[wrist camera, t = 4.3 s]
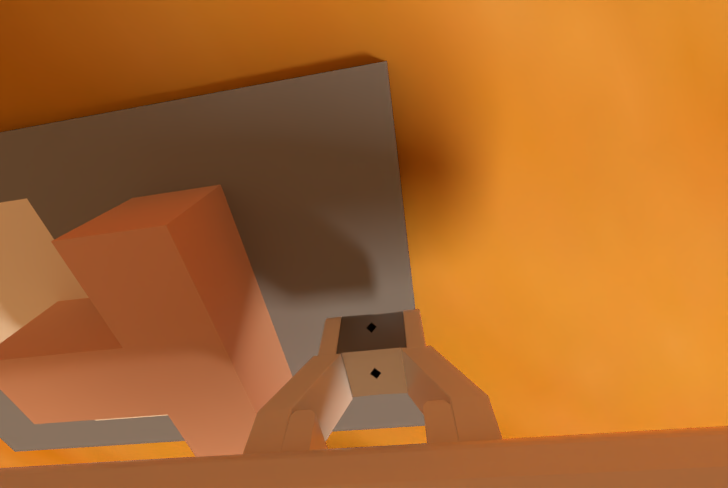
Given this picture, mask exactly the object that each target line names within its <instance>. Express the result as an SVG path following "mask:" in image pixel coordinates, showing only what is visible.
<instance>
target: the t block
mask: <svg viewBox="0 0 728 488" xmlns="http://www.w3.org/2000/svg"><path fill="white" fill-rule="evenodd" d="M51 242H52V244H53V245H54V247H55V248H56V250H57V251H58V253H59V254H60V256H61V257H62V259H63V260H64V262H65V263H66V264H67V266H68V267H69V269H70V270H71V272H72V273H73V275H74V276H75V278H76V279H77V281H78V282H79V284H80V285H81V287H82V288H83V290H84V291H85V293H86V294H87V296H88V297H89V298H82V299H74V300H65V301H57V302H56V303H55V304H53V305H52V306H51V307H49V308H48V309H47V310H45V311H44V312H42V313H41V314H40V315H38V316H37V317H36V318H34V319H33V320H31V321H30V322H29V323H27V324H26V325H25V326H23V327H22V328H21V329H19V330H18V331H16V332H15V333H14V334H12V335H11V336H10V337H8V338H7V339H5V340H4V341H3V342H1V343H0V390H1V391H2V392H3V393H4V394H5V395H6V396H7V397H8V398H9V399H10V400H11V401H12V402H13V403H14V404H15V405H16V406H17V407H18V408H19V409H20V410H21V411H22V412H23V413H24V414H25V415H26V416H27V417H28V418H29V419H30V420H31V421H32V422H33V423H34V424H45V423H58V422H72V421H86V420H99V419H113V418H127V417H140V416H154V415H168V416H169V417H170V419H171V420H172V422H173V423H174V425H175V426H176V428H177V429H178V431H179V432H180V434H181V435H182V437H183V438H184V440H185V441H186V443H187V444H188V446H189V447H190V449H191V450H192V452H193V453H194V455H195V456H196V457H200V456H218V455H235V454H243V452H244V449H245V446H246V443H247V440H248V438H249V435H250V432H251V429H252V426H253V424H254V421H255V418H256V415H257V412H258V411H259V410H260V409H261V408H262V407H263V406H264V405H265V404H266V403H267V402H268V401H269V400H270V399H271V398H272V397H273V396H274V395H275V394H276V393H277V392H278V391H279V390H280V389H281V388H282V387H283V386H284V385H285V384H286V383H287V382H288V381H289V380H290V379H291V378H292V374H291V371H290V369H289V366H288V363H287V361H286V358H285V355H284V353H283V350H282V347H281V344H280V342H279V339H278V336H277V334H276V331H275V328H274V326H273V323H272V320H271V318H270V315H269V312H268V310H267V307H266V304H265V302H264V299H263V296H262V294H261V291H260V288H259V286H258V283H257V280H256V278H255V275H254V272H253V270H252V267H251V264H250V262H249V259H248V256H247V254H246V251H245V248H244V246H243V243H242V240H241V238H240V235H239V232H238V230H237V227H236V224H235V222H234V219H233V216H232V213H231V211H230V208H229V205H228V203H227V200H226V197H225V195H224V192H223V189H222V187H221V185H214V186H207V187H201V188H194V189H188V190H181V191H175V192H168V193H161V194H155V195H148V196H142V197H135V198H131V199H129V200H128V201H126V202H124V203H122V204H120V205H118V206H116V207H114V208H113V209H111V210H109V211H107V212H105V213H103V214H101V215H99V216H98V217H96V218H94V219H92V220H90V221H88V222H86V223H84V224H83V225H81V226H79V227H77V228H75V229H73V230H71V231H69V232H68V233H66V234H64V235H62V236H60V237H58V238H56V239H54V240H53V241H51Z"/></svg>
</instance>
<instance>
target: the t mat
mask: <svg viewBox="0 0 728 488" xmlns="http://www.w3.org/2000/svg"><path fill="white" fill-rule="evenodd" d="M214 185H221V187H222V189H223V192H224V195H225V197H226V200H227V203H228V205H229V208H230V211H231V213H232V216H233V219H234V222H235V224H236V227H237V230H238V232H239V235H240V238H241V240H242V243H243V246H244V248H245V251H246V254H247V256H248V259H249V262H250V264H251V267H252V270H253V272H254V275H255V278H256V280H257V283H258V286H259V288H260V291H261V294H262V296H263V299H264V302H265V304H266V307H267V310H268V312H269V315H270V318H271V320H272V323H273V326H274V328H275V331H276V334H277V336H278V339H279V342H280V344H281V347H282V350H283V353H284V355H285V358H286V361H287V363H288V366H289V369H290V371H291V374H292V377H293V376H294V375H295V374H296V373H297V372H298V371H299V370H300V369H301V368H302V367H303V366H304V365H305V364H306V363H307V362H308V361H309V360H310V359H311V358H312V357H313V356H318V353H319V348H320V343H321V339H322V334H323V329H324V324H325V321H326V319H327V318H334V317H344V316H356V315H369V314H380V313H390V312H399V311H404V310H412V309H415V303H414V294H413V286H412V277H411V268H410V259H409V251H408V242H407V233H406V224H405V216H404V207H403V198H402V190H401V181H400V172H399V163H398V155H397V146H396V137H395V128H394V120H393V111H392V102H391V93H390V85H389V76H388V67H387V61H384V62H378V63H373V64H367V65H362V66H357V67H351V68H346V69H340V70H335V71H330V72H324V73H319V74H313V75H308V76H302V77H297V78H292V79H286V80H281V81H275V82H270V83H265V84H259V85H254V86H248V87H243V88H238V89H232V90H227V91H221V92H216V93H210V94H205V95H200V96H194V97H189V98H183V99H178V100H173V101H167V102H162V103H156V104H151V105H146V106H140V107H135V108H129V109H124V110H119V111H113V112H108V113H102V114H97V115H91V116H86V117H81V118H75V119H70V120H64V121H59V122H54V123H48V124H43V125H37V126H32V127H27V128H21V129H16V130H10V131H5V132H0V343H1V342H3V341H4V340H5V339H7V338H8V337H10V336H11V335H12V334H14V333H15V332H16V331H18V330H19V329H21V328H22V327H23V326H25V325H26V324H27V323H29V322H30V321H31V320H33V319H34V318H36V317H37V316H38V315H40V314H41V313H42V312H44V311H45V310H47V309H48V308H49V307H51V306H52V305H53V304H55V303H56V302H57V301H65V300H74V299H82V298H89V297H88V296H87V294H86V293H85V291H84V290H83V288H82V287H81V285H80V284H79V282H78V281H77V279H76V278H75V276H74V275H73V273H72V272H71V270H70V269H69V267H68V266H67V264H66V263H65V262H64V260H63V259H62V257H61V256H60V254H59V253H58V251H57V250H56V248H55V247H54V245H53V244H52V242H51V241H53V240H54V239H56V238H58V237H60V236H62V235H64V234H66V233H68V232H69V231H71V230H73V229H75V228H77V227H79V226H81V225H83V224H84V223H86V222H88V221H90V220H92V219H94V218H96V217H98V216H99V215H101V214H103V213H105V212H107V211H109V210H111V209H113V208H114V207H116V206H118V205H120V204H122V203H124V202H126V201H128V200H129V199H131V198H135V197H142V196H148V195H155V194H161V193H168V192H175V191H181V190H188V189H194V188H201V187H207V186H214ZM403 316H404V315H403ZM410 426H425V419H424V415H423V414H422V412H421V411H420V410H419V408H418V407H417V406H416V404H415V403H414V402H413V400H412V399H411V398H410V396H409V395H408V393H401V394H380V395H370V396H360V397H352V401H351V402H350V404H349V405H348V407H347V409H346V410H345V412H344V413H343V415H342V416H341V418H340V420H339V421H338V423H337V424H336V426H335V427H334V429H333V431H347V430H362V429H378V428H394V427H410ZM0 438H1V439H2V440H3V441H4V442H5V443H6V444H7V445H8V446H10V447H11V448H12V449H13V450H14V451H30V450H46V449H62V448H78V447H94V446H109V445H125V444H141V443H157V442H173V441H185V440H184V438H183V437H182V435H181V434H180V432H179V431H178V429H177V428H176V426H175V425H174V423H173V422H172V420H171V419H170V417H169V416H168V415H154V416H140V417H127V418H113V419H99V420H86V421H72V422H58V423H45V424H34V423H33V422H32V421H31V420H30V419H29V418H28V417H27V416H26V415H25V414H24V413H23V412H22V411H21V410H20V409H19V408H18V407H17V406H16V405H15V404H14V403H13V402H12V401H11V400H10V399H9V398H8V397H7V396H6V395H5V394H4V393H3V392H2V391H1V390H0Z"/></svg>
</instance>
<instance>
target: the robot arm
mask: <svg viewBox="0 0 728 488" xmlns="http://www.w3.org/2000/svg"><path fill="white" fill-rule="evenodd" d="M403 315H404V316H403ZM401 393H408V395H409V396H410V398H411V399H412V400H413V402H414V403H415V404H416V406H417V407H418V408H419V410H420V411H421V412H422V414H423V415H424V419H425V428H426V437H427V443H425V444H408V445H390V446H373V447H356V448H338V449H328V448H327V445H326V440H327V438H328V437H329V435H330V434H331V432H332V431H333V429H334V427H335V426H336V424H337V423H338V421H339V420H340V418H341V416H342V415H343V413H344V412H345V410H346V409H347V407H348V405H349V404H350V402H351V401H352V397H360V396H370V395H380V394H401ZM0 488H728V426H719V427H702V428H685V429H667V430H650V431H633V432H615V433H598V434H580V435H563V436H546V437H528V438H511V439H502V436H501V433H500V430H499V427H498V424H497V421H496V418H495V415H494V412H493V409H492V406H491V403H490V400H489V397H488V395H486V394H485V393H484V392H483V391H482V390H481V389H480V388H478V387H477V386H476V385H475V384H474V383H473V382H472V381H470V380H469V379H468V378H467V377H466V376H465V375H464V374H462V373H461V372H460V371H459V370H458V369H457V368H456V367H454V366H453V365H452V364H451V363H450V362H449V361H448V360H446V359H445V358H444V357H443V356H442V355H441V354H440V353H438V352H437V351H436V350H435V349H434V348H433V347H432V346H426V344H425V338H424V332H423V326H422V321H421V315H420V310H419V309H412V310H404V311H399V312H390V313H380V314H369V315H356V316H344V317H334V318H327V319H326V321H325V324H324V329H323V334H322V339H321V343H320V348H319V353H318V356H313V357H312V358H311V359H310V360H309V361H308V362H307V363H306V364H305V365H304V366H303V367H302V368H301V369H300V370H299V371H298V372H297V373H296V374H295V375H294V376H293V377H292V378H291V379H290V380H289V381H288V382H287V383H286V384H285V385H284V386H283V387H282V388H281V389H280V390H279V391H278V392H277V393H276V394H275V395H274V396H273V397H272V398H271V399H270V400H269V401H268V402H267V403H266V404H265V405H264V406H263V407H262V408H261V409H260V410H259V411H258V412H257V415H256V418H255V421H254V424H253V426H252V429H251V432H250V435H249V438H248V440H247V443H246V446H245V449H244V452H243V454H235V455H218V456H200V457H183V458H166V459H149V460H132V461H114V462H97V463H80V464H63V465H46V466H29V467H12V468H0Z"/></svg>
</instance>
